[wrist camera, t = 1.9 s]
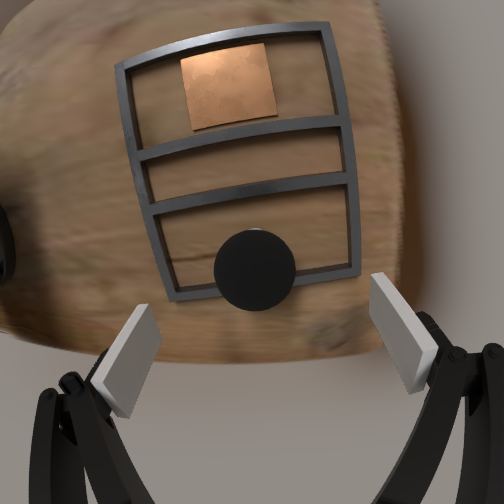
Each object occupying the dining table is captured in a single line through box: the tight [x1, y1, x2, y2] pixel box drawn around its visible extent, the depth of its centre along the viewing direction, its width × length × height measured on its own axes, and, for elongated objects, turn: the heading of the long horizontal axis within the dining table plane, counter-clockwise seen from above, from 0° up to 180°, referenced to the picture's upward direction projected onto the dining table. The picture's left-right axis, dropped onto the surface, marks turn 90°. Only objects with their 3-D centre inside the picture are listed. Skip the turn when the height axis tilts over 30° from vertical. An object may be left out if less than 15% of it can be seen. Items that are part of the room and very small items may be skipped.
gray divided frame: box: [114, 22, 361, 302], centre depth 23 cm, size 20×25×1 cm
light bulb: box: [214, 228, 296, 311], centre depth 22 cm, size 6×6×10 cm
